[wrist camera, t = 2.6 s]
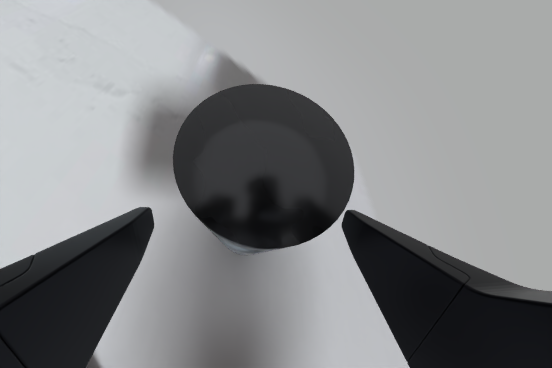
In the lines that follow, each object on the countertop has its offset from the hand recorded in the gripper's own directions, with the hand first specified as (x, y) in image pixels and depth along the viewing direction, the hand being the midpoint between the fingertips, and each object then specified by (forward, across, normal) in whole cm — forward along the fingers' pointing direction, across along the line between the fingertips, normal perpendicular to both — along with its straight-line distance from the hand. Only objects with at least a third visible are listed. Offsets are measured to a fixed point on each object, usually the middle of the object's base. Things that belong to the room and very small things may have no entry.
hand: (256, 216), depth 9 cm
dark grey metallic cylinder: (+7, 0, +6) cm, 9 cm away
